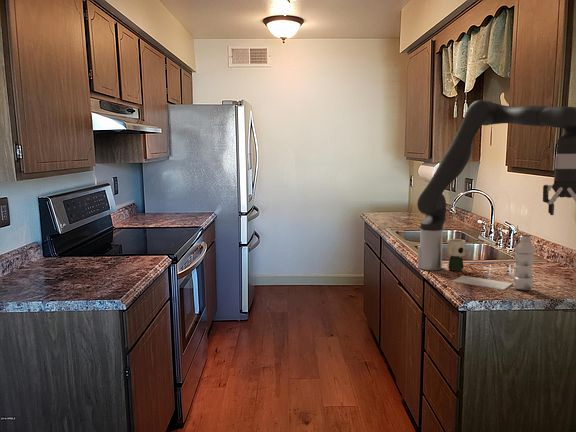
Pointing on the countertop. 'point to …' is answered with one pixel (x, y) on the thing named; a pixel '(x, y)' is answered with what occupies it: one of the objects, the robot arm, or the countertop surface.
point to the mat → (483, 282)
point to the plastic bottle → (524, 263)
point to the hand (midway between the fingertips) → (564, 215)
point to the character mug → (456, 254)
